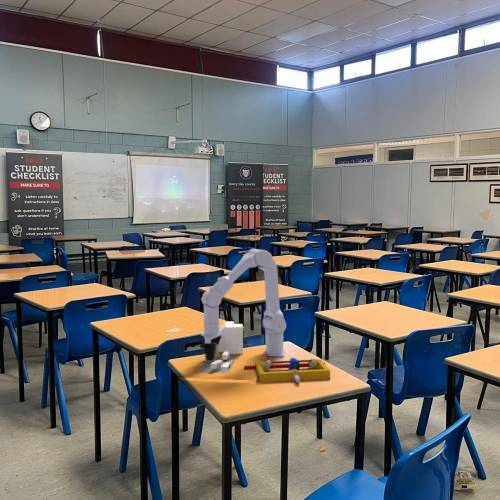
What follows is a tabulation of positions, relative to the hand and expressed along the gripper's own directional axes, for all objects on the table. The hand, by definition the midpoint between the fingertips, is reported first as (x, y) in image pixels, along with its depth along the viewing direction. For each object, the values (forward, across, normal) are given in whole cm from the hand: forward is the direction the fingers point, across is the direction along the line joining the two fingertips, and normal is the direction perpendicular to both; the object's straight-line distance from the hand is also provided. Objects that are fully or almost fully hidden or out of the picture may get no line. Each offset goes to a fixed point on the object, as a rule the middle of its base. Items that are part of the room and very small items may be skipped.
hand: (212, 357), depth 197 cm
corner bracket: (+3, -15, +4) cm, 16 cm away
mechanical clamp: (+3, +12, +30) cm, 33 cm away
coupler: (+1, 0, 0) cm, 1 cm away
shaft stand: (+2, +4, +3) cm, 6 cm away
